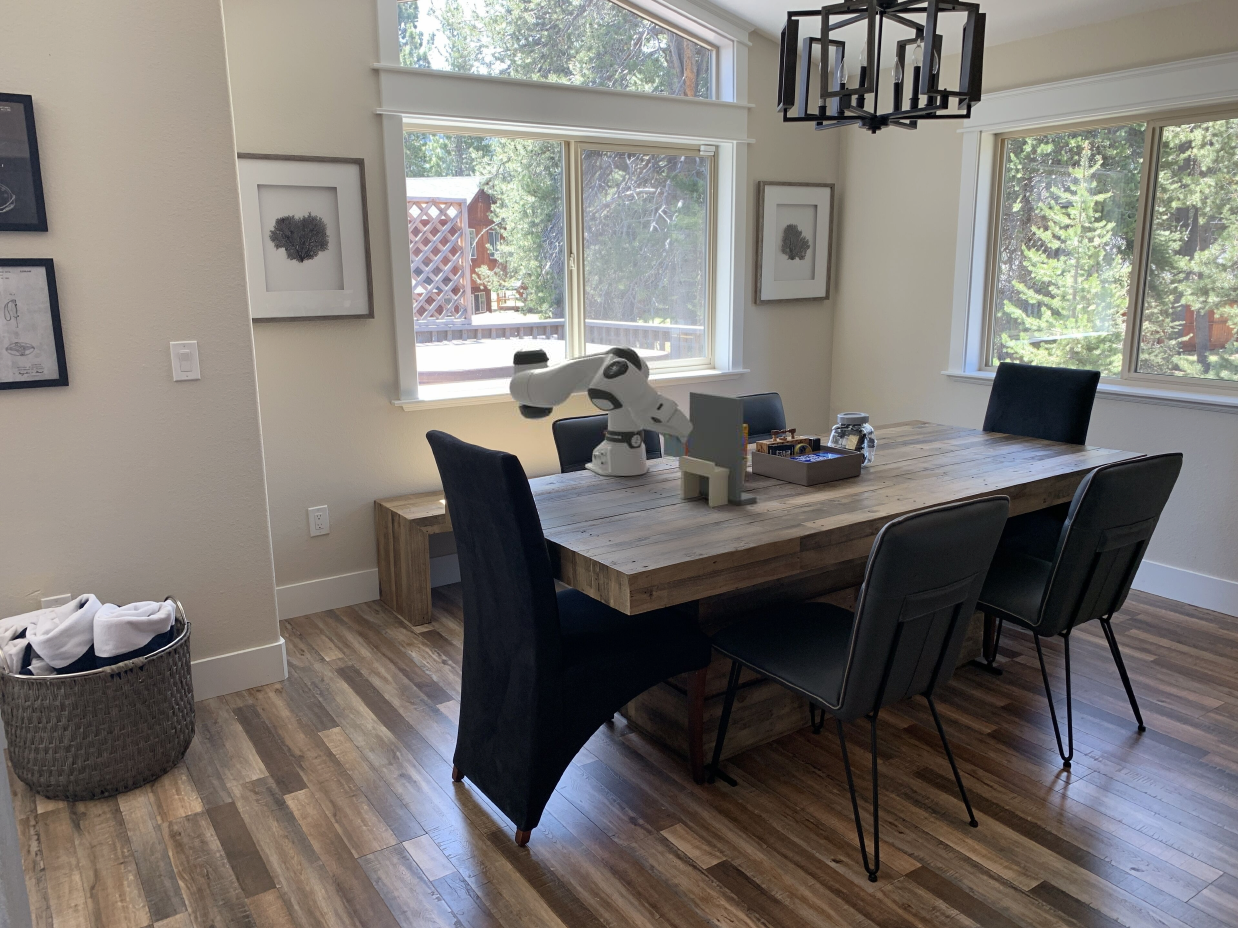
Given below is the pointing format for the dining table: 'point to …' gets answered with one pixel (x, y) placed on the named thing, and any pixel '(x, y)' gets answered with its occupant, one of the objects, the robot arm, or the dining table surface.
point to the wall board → (714, 451)
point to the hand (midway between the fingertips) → (676, 439)
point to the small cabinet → (673, 446)
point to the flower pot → (744, 467)
